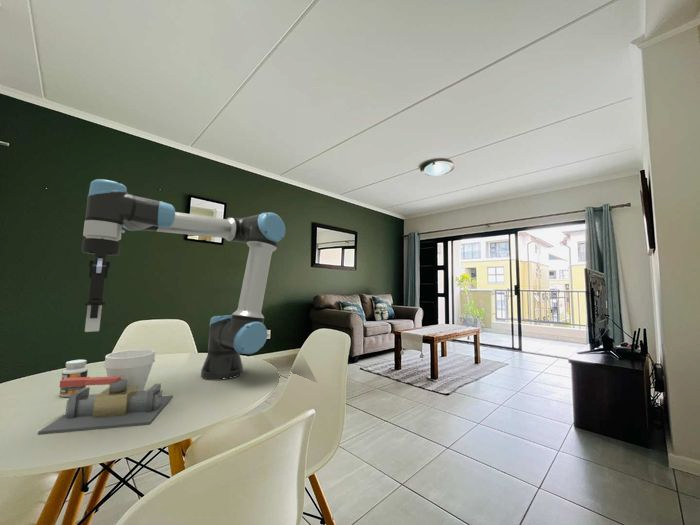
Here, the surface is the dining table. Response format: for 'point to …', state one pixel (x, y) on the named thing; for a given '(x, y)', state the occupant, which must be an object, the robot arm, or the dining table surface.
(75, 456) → the dining table surface
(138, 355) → the cup
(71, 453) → the dining table surface
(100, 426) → the mat
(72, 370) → the pill bottle
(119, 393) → the valve
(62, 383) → the lever
